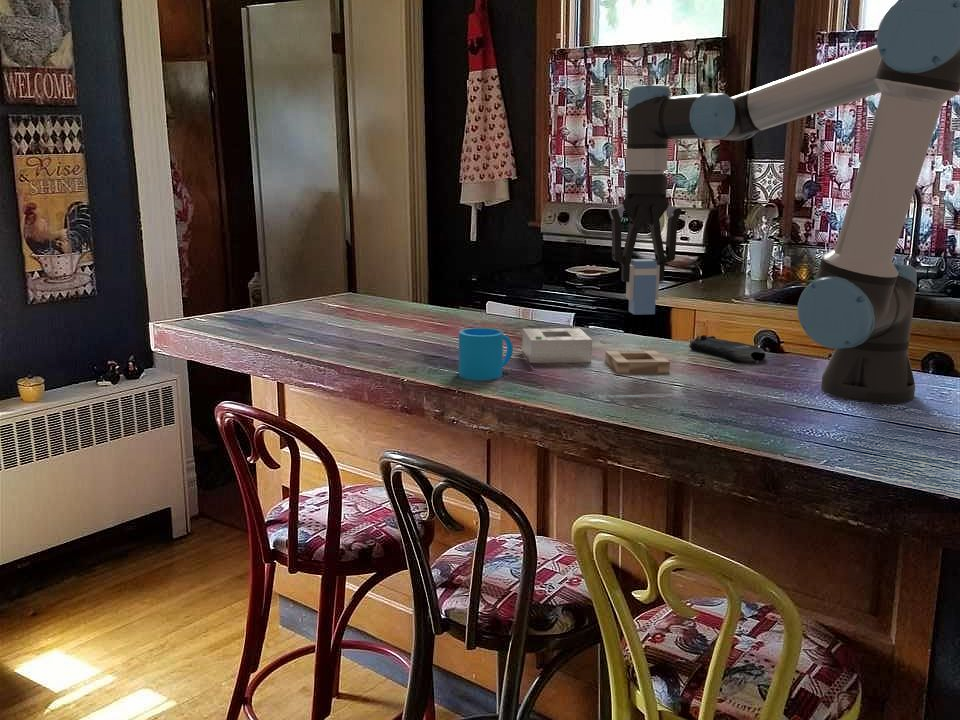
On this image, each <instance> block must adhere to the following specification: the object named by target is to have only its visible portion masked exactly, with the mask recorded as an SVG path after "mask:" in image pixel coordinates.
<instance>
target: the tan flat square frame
mask: <svg viewBox="0 0 960 720" xmlns="http://www.w3.org/2000/svg"><path fill="white" fill-rule="evenodd" d="M604 357H605V358H604V359H605V360H604V362H606V364H607V365H608V366H609V367H610V368H611V369H613V371H615V373H617V374H628V373H629V374H642V373H645V374H652V373H654V374H656V373H659V374H660V373H663V374H664V373H670V371H671V370H670V369H671V368H670V367H671V362H670V361H669V360H668V359H667V358H666V357H665V356H663V355H661V354H660V353H659V352H657V351H656V350H606V351H605V354H604Z"/></svg>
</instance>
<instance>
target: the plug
mask: <svg viewBox="0 0 960 720" xmlns="http://www.w3.org/2000/svg"><path fill="white" fill-rule="evenodd" d="M630 264H632V265H634V298H633V300H628V312H629V313H631V314H632V315H634V316H635V315H641V316H642V315H655V314H656V300H655V297H656V275H657V261H656V259H655V260H654V259H652V258H637V259H636V258H632V259H631V263H630Z"/></svg>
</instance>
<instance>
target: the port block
mask: <svg viewBox="0 0 960 720" xmlns="http://www.w3.org/2000/svg"><path fill="white" fill-rule="evenodd" d="M521 338H522V341H521V344H522V345H521V353H522V354H523V357H525V359H526V360H527V362H528V364H529V365H530V366H533V364H557V363H558V364H569V363H571V364H575V363H577V364H578V363H579V364H580V363H584V364H585V363H586V364H587V363H592V356H593V355H592V353H593V352H592V351H593V339H592V338H591V337H590V336H589V335H587V333H585V332H584V331H583V330H582V329H581V328H579V327H576V328H574V327H573V328H570V327H568V328H566V327H565V328H564V327H563V328H559V327H558V328H522V336H521Z"/></svg>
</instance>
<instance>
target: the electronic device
mask: <svg viewBox="0 0 960 720" xmlns="http://www.w3.org/2000/svg"><path fill="white" fill-rule="evenodd" d="M688 346H689V348H690V350H692V351H695V352H700V353H703V354H709V355H713V356H718V357H721V358H723V359H724V360H725V359H726V360H727V361H729V360H730V362H733V361H734V363H741V364H742V363H743V364H744V363H745V364H752V363H753V364H754V363H756V364H758V363H760V362H762V361H763V360H764V359H765V358H766V354H767V353H766V351H765V350H764V349H763V348H761V347H760V346H756V345H753V344H749V343H745V342H744V343H743V342H739V341H731V340H727V339H721V338H720V339H719V338H716V336H714V335H712V336H707V335H704V334H702V335H700V336H699V337H696V338H692V339H691V341H690V342H689V345H688ZM753 357H754V358H758V360H755V359H754V358H753Z"/></svg>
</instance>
